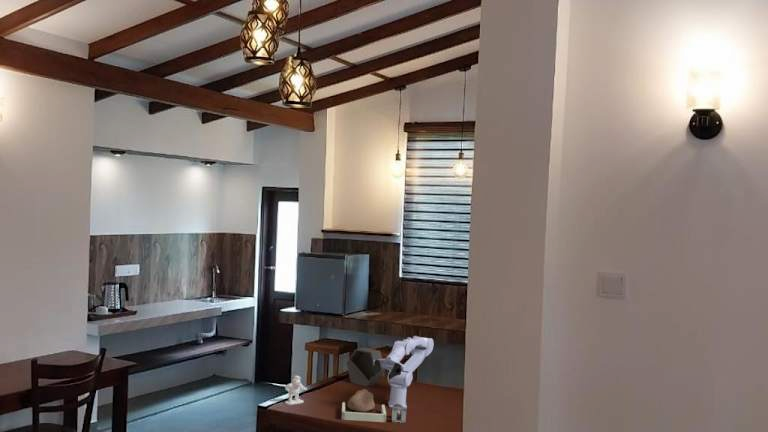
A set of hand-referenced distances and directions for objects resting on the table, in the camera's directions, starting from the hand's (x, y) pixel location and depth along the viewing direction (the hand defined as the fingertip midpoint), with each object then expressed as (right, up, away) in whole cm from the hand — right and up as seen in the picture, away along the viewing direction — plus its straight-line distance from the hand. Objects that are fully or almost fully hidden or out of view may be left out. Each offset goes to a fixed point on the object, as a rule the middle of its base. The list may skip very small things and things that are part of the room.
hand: (381, 375), depth 298 cm
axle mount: (+7, -17, -8) cm, 20 cm away
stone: (-8, -17, +7) cm, 20 cm away
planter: (-9, -17, +56) cm, 60 cm away
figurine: (-38, -15, +10) cm, 42 cm away
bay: (-8, -16, -2) cm, 18 cm away
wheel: (+7, -17, -3) cm, 19 cm away
